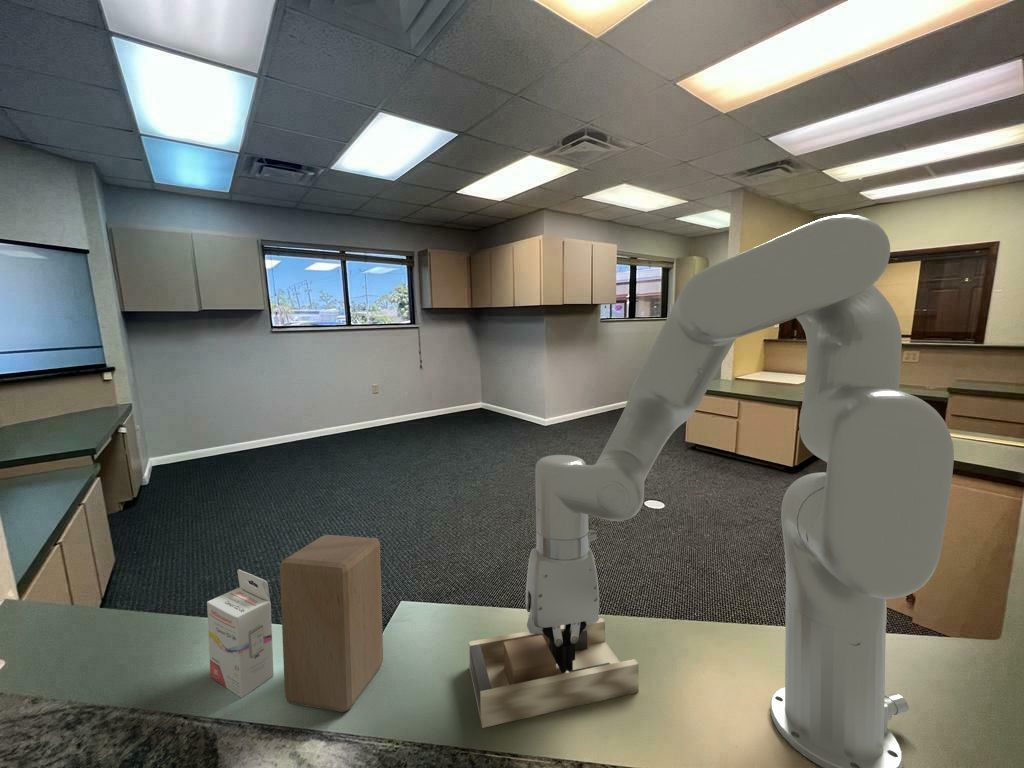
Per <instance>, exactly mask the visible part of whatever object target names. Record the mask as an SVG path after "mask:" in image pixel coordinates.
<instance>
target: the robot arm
mask: <svg viewBox="0 0 1024 768" xmlns="http://www.w3.org/2000/svg"><path fill="white" fill-rule="evenodd" d="M886 233H887V232H885V230H884V229H883V227H881V226H880V224H878V223H877V222H875V221H874V220H871V219H869V218H867V217H864V216H862V215H858V214H857V215H854V214H837V215H831V216H826V217H823V218H819V219H817V220H815V221H812V222H810V223H807V224H804V225H802V226H800V227H798V228H796V229H793V230H791V231H789V232H786V233H784V234H782V235H780V236H777V237H775V238H773V239H771V240H768V241H765V242H764V243H762V244H760V245H757V246H754V247H752V248H750V249H747V250H745V251H743V252H741V253H738V254H735V255H733V256H730V257H729V258H726V259H723V260H722V261H719V262H717V263H714V264H712V265H710V266H708V267H705V268H704V269H702V270H700V271H698V272H697V273H695V274H694V275H693V276H692V277H690V278H689V279H688V281H686V283H685V284H684V286H683V287H682V289H681V291H680V293H679V295H678V297H677V300H676V301H675V303H674V305H673V307H672V308H671V311H669V312H670V313H669V314H668V316H667V317H666V320H665V322H664V323H663V326H662V328H661V330H660V332H659V333H658V336H657V337H656V339H655V342H654V343H653V345H652V347H651V349H650V351H649V353H648V354H647V356H646V359H645V361H644V363H643V364H642V366H641V368H640V370H639V372H638V374H637V376H636V377H635V380H634V381H633V384H632V386H631V388H630V391H629V395H628V398H627V402H626V404H625V407H624V409H623V411H622V413H621V415H620V417H619V419H618V421H617V424H616V425H615V428H614V429H613V431H612V433H611V435H610V436H609V439H608V440H607V442H606V444H605V446H604V448H603V450H602V451H601V454H600V455H599V457H598V459H597V461H596V462H595V464H587V462H585V460H583V459H582V458H580V457H578V456H575V455H569V454H568V455H567V454H553V455H547V456H543V457H541V458H540V459H538V460H537V462H536V465H535V477H534V479H535V482H534V483H535V532H536V533H535V535H536V536H535V537H536V538H535V540H536V541H535V547H533V548H532V549H531V550H530V554H529V558H528V566H527V573H526V574H527V575H526V583H525V584H526V586H525V609H526V611H527V613H529V614H528V618H527V621H526V622H527V623H526V628H527V631H529V632H530V633H531V634H544V635H545V636H547V637H548V638H549V639H550V640H551V641H552V655H553V657H554V659H555V661H556V664H558V666H559V668H560V670H561V672H562V673H565V672H566V671H571V670H573V661H574V660H575V643H577V641H578V638H579V635H580V634H581V632H582V631H583V630H584V629H585V627H586V626H589V625H591V624H593V623H596V622H597V621H598V620H599V618H600V617H599V611H600V593H599V590H600V589H599V580H598V574H597V573H598V572H597V568H596V560H595V557H594V554H593V550H592V549H591V542H593V541H594V540H597V539H598V535H597V531H596V530H594V529H593V530H591V529H589V516H591V517H594V518H599V519H602V520H606V521H613V522H624V521H627V520H630V519H632V518H634V517H635V516H636V515H637V514H638V513H639V512H640V510H641V509H642V506H643V503H644V500H645V481H646V479H647V477H648V475H649V472H650V471H651V469H652V467H653V465H654V464H655V463H656V460H657V458H658V456H659V455H660V453H661V451H662V449H663V447H664V446H665V444H667V441H668V440H669V439H670V437H671V436H672V435H673V433H674V432H675V431H676V430H677V429H678V428H679V427H680V426H682V424H684V423H685V422H687V421H688V420H689V419H690V418H691V416H693V414H694V413H695V412H696V410H697V409H698V408H699V405H700V404H701V402H702V400H703V397H705V395H706V393H707V391H708V389H709V387H710V385H711V383H712V381H713V380H714V378H715V377H716V374H717V372H718V371H719V369H720V367H721V366H722V363H723V362H724V360H725V359H726V358H727V355H728V353H729V351H730V350H731V348H732V346H733V345H734V344H735V343H734V342H735V341H736V339H738V338H742V337H744V336H747V335H750V334H753V333H756V332H759V331H763V330H765V329H769V328H771V327H774V326H777V325H780V324H783V323H785V322H788V321H791V320H794V319H796V320H797V322H799V324H800V325H801V327H802V329H803V331H804V333H805V338H806V345H807V346H806V370H805V378H804V386H803V387H804V388H803V396H802V402H801V403H802V404H801V408H800V409H801V410H800V416H799V417H800V418H799V422H798V423H799V424H798V428H799V430H798V431H799V434H800V439H801V441H802V444H804V446H805V448H807V450H808V451H810V453H812V455H814V456H816V457H817V458H819V459H821V461H823V462H825V463H826V464H827V465H826V472H825V471H823V472H813V473H808V474H805V475H802V476H801V477H799V478H798V479H796V480H795V481H793V482H792V483H791V484H790V485H789V486H788V488H787V489H786V491H785V493H784V495H783V498H782V502H781V508H780V509H781V511H780V520H781V529H782V539H783V546H784V547H783V548H784V557H785V559H784V560H785V630H784V631H785V632H784V633H785V635H784V636H785V637H784V638H785V641H784V643H785V644H784V645H785V649H784V650H785V653H784V655H785V657H784V686H783V687H781V688H779V689H777V690H776V691H775V692H774V693H773V695H772V696H771V698H770V699H771V700H770V715H771V719H772V721H773V723H774V726H775V727H776V729H777V731H779V733H780V734H781V736H782V737H783V738H784V739H785V741H787V742H788V743H789V745H790V746H792V747H793V748H794V749H795V750H796V751H797V752H799V754H801V755H802V756H804V757H805V758H807V759H808V760H810V761H811V762H812V763H814V764H816V765H818V766H820V767H821V768H903V751H902V749H901V746H900V744H899V741H897V739H896V737H895V736H894V735H893V733H892V732H891V731H890V729H889V727H888V722H889V721H891V720H892V718H893V716H898V715H901V714H905V713H907V712H909V708H910V707H909V704H908V702H907V700H906V699H905V697H904V696H902V695H900V694H899V693H897V692H894V693H893V692H892V693H889V694H886V695H885V692H886V690H885V689H886V688H885V687H886V640H887V639H886V638H887V637H886V635H887V634H886V631H887V628H886V627H887V617H888V616H887V608H888V607H887V600H889V599H890V600H891V599H892V600H893V599H897V598H903V597H907V596H909V595H911V594H913V593H915V592H918V591H919V590H920V589H921V588H923V587H924V586H925V585H926V584H927V583H928V582H929V580H930V579H931V578H932V576H933V574H934V573H935V571H936V569H937V566H938V564H939V561H940V558H941V554H942V549H943V543H944V537H945V530H946V522H947V516H948V509H949V502H950V494H951V487H952V482H953V481H952V479H953V472H954V471H953V470H954V462H955V461H954V460H955V452H954V451H955V450H954V444H953V439H952V435H951V432H950V429H949V427H948V425H947V423H946V422H945V420H944V418H943V417H942V415H940V413H939V412H938V410H936V409H935V408H934V407H933V406H931V405H930V404H929V403H928V402H926V401H924V400H923V399H921V398H919V397H917V396H915V395H913V394H910V393H908V392H904V391H901V390H900V381H901V365H902V364H901V361H902V347H903V346H902V344H903V343H902V341H903V340H902V330H901V326H900V322H899V319H898V316H897V313H896V312H895V310H894V309H893V306H892V305H891V303H890V302H889V301H888V300H887V298H886V297H885V296H884V294H883V293H882V292H881V291H880V290H879V289H878V288H877V287H876V286H875V285H874V284H875V283H876V282H877V281H878V280H879V279H880V277H881V276H882V275H883V274H884V272H885V270H886V268H887V266H888V264H889V260H890V257H891V243H890V240H889V237H888V235H887V234H886ZM560 625H564V631H563V632H561V627H560Z"/></svg>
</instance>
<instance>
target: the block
mask: <svg viewBox="0 0 1024 768" xmlns="http://www.w3.org/2000/svg"><path fill="white" fill-rule="evenodd" d="M381 572H382V571H381V542H380V540H379V538H376V537H362V536H350V535H338V534H337V535H335V534H324V535H322V536H320V537H319V538H317V539H315V540H313V541H312V542H310V543H308V544H307V545H305V546H303V547H302V548H300V549H299V550H297V551H296V552H294V553H293V554H291V555H288V556H287V557H286V558H284V559H283V560H282V561H281V563H280V566H279V579H280V580H279V581H280V584H279V585H280V603H281V607H280V608H281V630H282V631H281V632H282V654H283V656H282V657H283V683H284V684H283V685H284V698H285V700H286V702H288V703H289V704H293V705H298V706H306V707H311V708H318V709H323V710H328V711H336V712H341V713H344V712H348V710H350V709H351V708H352V707H353V705H354V704H355V703H356V701H357V700H358V699H359V697H360V696H361V694H362V693H363V692H364V690H365V689H366V687H367V686H368V685H369V684H370V682H371V681H372V679H373V678H374V676H375V675H376V674H377V672H378V671H379V670H380V668H381V667H382V664H383V662H384V639H383V638H384V636H383V635H384V634H383V611H382V610H383V608H382V607H383V606H382V604H383V603H382V579H381V577H382V573H381Z"/></svg>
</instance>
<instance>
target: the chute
mask: <svg viewBox="0 0 1024 768" xmlns="http://www.w3.org/2000/svg"><path fill="white" fill-rule="evenodd" d="M560 627H561V632H563V631H564V625H560ZM539 635H543V637H544V639H545V641H546V643H547V645H548V647H549V649H550V651H551V653H552V641H551V640H550V639H549V638H548V637H547V636H545V635H544V634H531V633H530V632H529V630H527V631H522V632H521V631H520V632H516V633H509V634H504V635H498V636H493V637H487V638H481V639H476V640H471V641H468V655H469V657H468V658H469V659H468V661H469V671H470V676H471V681H472V685H473V690H474V691H473V692H474V696H475V700H476V705H477V710H478V715H479V718H480V725H481V728H482V729H484V728H488V727H493V726H496V725H497V726H498V725H501V724H506V723H510V722H515V721H519V720H523V719H524V720H525V719H528V718H532V717H536V716H540V715H544V714H548V713H553V712H558V711H562V710H566V709H570V708H574V707H579V706H583V705H587V704H588V705H589V704H591V703H596V702H601V701H605V700H609V699H613V698H614V699H615V698H618V697H622V696H627V695H631V694H635V693H639V690H640V689H639V685H640V684H639V682H640V681H639V677H640V676H639V662H638V661H637V660H636V659H635V658H632V659H629V660H623V661H620V660H619V659H618V657H617V656H616V654H615V653H614V652H613V651H612V649H611V648H610V646H609V645H608V643H607V642H606V621H605V619H604V618H603V617H599V620H598V621H597V622H596V623H593V624H591V625H589V626H586V627H585V629H584V630H583V631H582V632H581V634H580V635H579V638H578V641H577V643H575V660H574V661H573V670H571V671H566V672H565V673H562V672H561V670H560V668H559V666H558V664H556V676H551V677H546V678H541V679H536V680H532V681H527V682H522V683H517V684H512V685H509V682H508V679H507V675H506V672H505V669H504V642H506V641H511V640H517V639H522V638H528V637H533V636H539Z"/></svg>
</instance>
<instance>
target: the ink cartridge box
mask: <svg viewBox="0 0 1024 768" xmlns="http://www.w3.org/2000/svg"><path fill="white" fill-rule="evenodd" d="M236 571H237V579H238V584H239V587H237V588H235V589H232V590H229V591H228V592H226V593H223V594H221V595H218V596H216V597H214V598H213V599H210V600H208V601H206V606H207V607H206V609H207V630H208V650H209V651H208V652H209V670H210V671H209V672H210V678H211V679H212V680H215V681H216V682H218V683H219V684H220V685H222V686H224V688H226V689H228V690H229V691H230V692H232V693H234V694H235V695H237V696H238V697H239V698H243V697H245V696H247V695H248V694H250V693H251V692H252V691H254V690H256V689H257V688H258V687H260V686H261V685H263V684H264V683H266V682H267V681H268V680H270V679H271V678H272V677H274V674H275V673H274V652H273V628H272V627H273V626H272V609H271V608H272V604H271V598H270V593H269V592H270V591H269V584H268V581H267V580H265V579H263V578H261V577H259V576H256V575H254V574H251V573H249V572H247V571H243V570H242V569H241V568H240V569H237V570H236ZM251 581H252V582H253V583H254V584H256V585H257V587H256V586H255V585H253V584H251V583H249V582H251Z"/></svg>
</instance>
